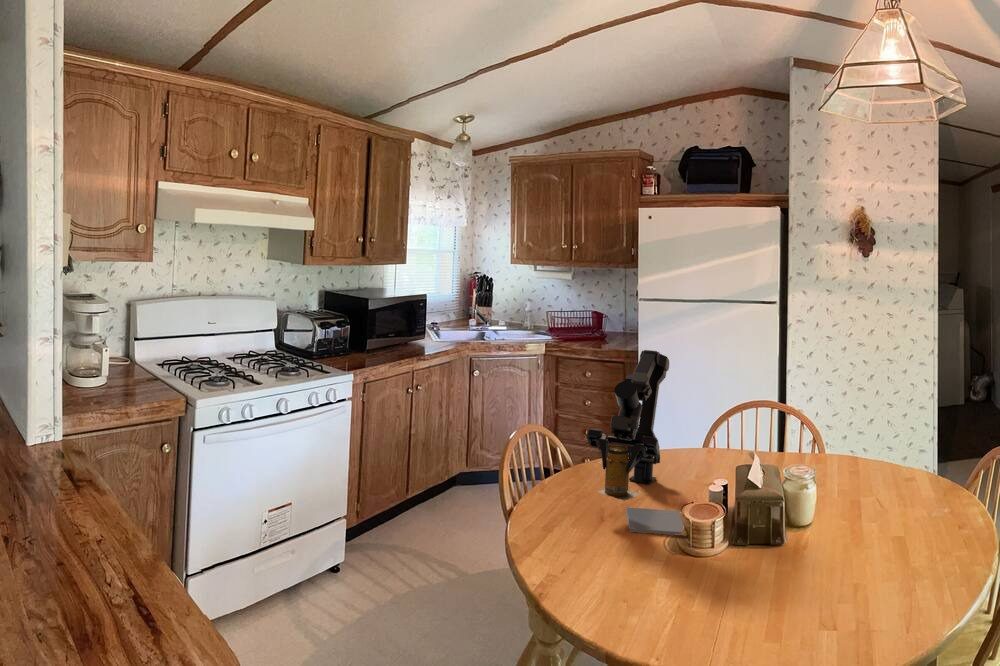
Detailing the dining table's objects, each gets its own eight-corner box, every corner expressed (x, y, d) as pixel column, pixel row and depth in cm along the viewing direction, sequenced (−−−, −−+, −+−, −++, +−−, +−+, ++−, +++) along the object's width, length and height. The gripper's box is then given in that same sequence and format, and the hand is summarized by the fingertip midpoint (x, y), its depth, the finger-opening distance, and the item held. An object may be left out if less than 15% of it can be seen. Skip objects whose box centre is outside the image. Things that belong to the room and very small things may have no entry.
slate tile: (625, 510, 183) (625, 507, 183) (678, 514, 182) (678, 510, 182) (629, 532, 170) (630, 528, 170) (687, 536, 168) (687, 532, 168)
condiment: (613, 486, 183) (615, 443, 181) (640, 494, 177) (642, 450, 176) (597, 492, 178) (599, 448, 176) (624, 502, 172) (626, 456, 170)
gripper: (589, 398, 182) (575, 449, 174) (659, 407, 174) (647, 461, 166) (596, 420, 190) (583, 470, 182) (664, 429, 183) (653, 482, 174)
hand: (615, 470), depth 176 cm, fingers closed on condiment, 6 cm apart
